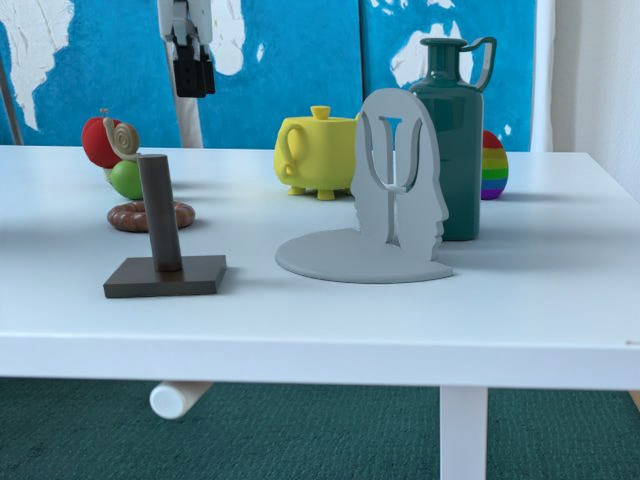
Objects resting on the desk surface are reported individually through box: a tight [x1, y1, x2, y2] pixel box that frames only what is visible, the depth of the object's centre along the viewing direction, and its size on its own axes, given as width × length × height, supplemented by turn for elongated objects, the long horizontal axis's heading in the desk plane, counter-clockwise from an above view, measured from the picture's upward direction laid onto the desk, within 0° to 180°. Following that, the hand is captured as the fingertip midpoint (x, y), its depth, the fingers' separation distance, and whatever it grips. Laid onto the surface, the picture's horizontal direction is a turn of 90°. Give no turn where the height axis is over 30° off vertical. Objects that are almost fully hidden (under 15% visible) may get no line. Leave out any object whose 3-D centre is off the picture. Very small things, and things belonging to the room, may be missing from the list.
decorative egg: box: [481, 129, 510, 200], centre depth 109 cm, size 8×8×10 cm
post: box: [102, 153, 228, 299], centre depth 63 cm, size 9×9×11 cm
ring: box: [106, 200, 196, 233], centre depth 86 cm, size 10×10×2 cm
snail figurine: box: [99, 108, 144, 200], centre depth 98 cm, size 5×6×12 cm
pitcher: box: [405, 36, 498, 241], centre depth 82 cm, size 10×8×22 cm
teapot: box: [273, 105, 360, 201], centre depth 108 cm, size 14×20×13 cm
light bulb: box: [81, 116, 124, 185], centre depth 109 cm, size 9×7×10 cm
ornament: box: [274, 87, 455, 284], centre depth 70 cm, size 22×13×17 cm, turn 37°
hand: (197, 95), depth 87 cm, fingers open, 9 cm apart
